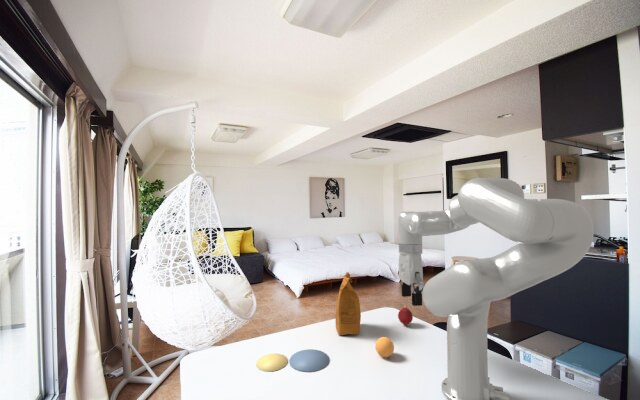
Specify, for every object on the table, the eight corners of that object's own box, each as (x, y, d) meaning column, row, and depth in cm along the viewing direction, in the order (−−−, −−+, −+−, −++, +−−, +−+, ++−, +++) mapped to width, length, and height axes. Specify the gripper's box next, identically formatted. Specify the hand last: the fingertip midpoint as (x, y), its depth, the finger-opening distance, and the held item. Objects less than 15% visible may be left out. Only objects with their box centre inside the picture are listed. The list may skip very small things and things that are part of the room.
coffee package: (359, 323, 122) (358, 271, 122) (361, 337, 109) (360, 279, 110) (336, 323, 123) (335, 271, 123) (335, 336, 110) (334, 278, 110)
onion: (415, 326, 118) (415, 307, 118) (404, 329, 115) (403, 309, 115) (406, 321, 123) (406, 302, 123) (395, 323, 121) (395, 304, 121)
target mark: (336, 356, 96) (336, 355, 96) (316, 376, 85) (316, 376, 85) (303, 346, 103) (303, 346, 103) (281, 364, 92) (281, 363, 92)
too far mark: (293, 359, 95) (293, 358, 95) (274, 375, 86) (274, 374, 86) (270, 351, 100) (270, 350, 100) (249, 365, 91) (249, 365, 91)
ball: (396, 354, 97) (396, 336, 97) (391, 362, 92) (390, 343, 92) (379, 349, 100) (378, 332, 100) (372, 357, 95) (372, 339, 95)
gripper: (391, 245, 105) (391, 293, 105) (409, 253, 88) (410, 310, 88) (411, 244, 106) (412, 292, 106) (433, 252, 89) (434, 309, 88)
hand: (411, 300), depth 97 cm, fingers open, 8 cm apart
